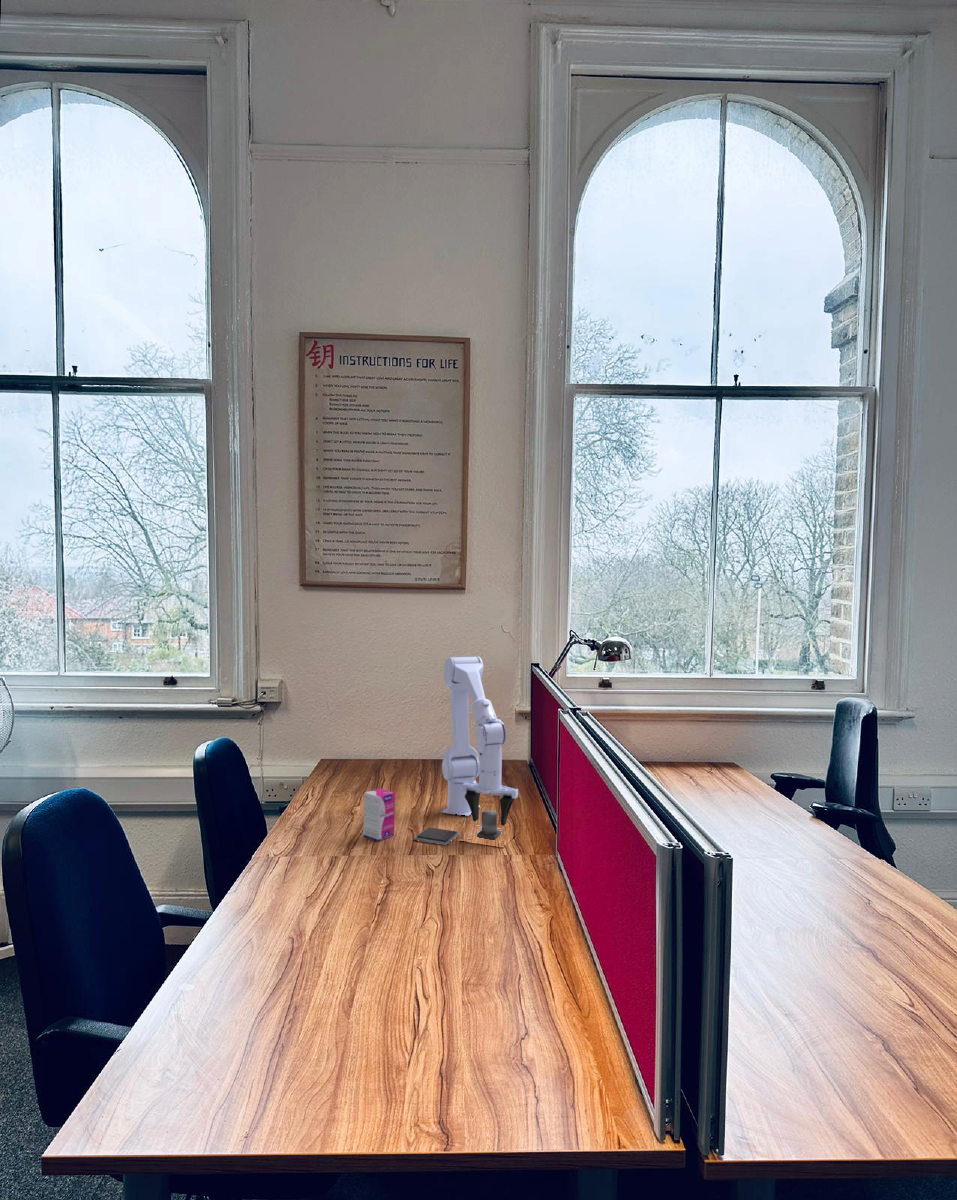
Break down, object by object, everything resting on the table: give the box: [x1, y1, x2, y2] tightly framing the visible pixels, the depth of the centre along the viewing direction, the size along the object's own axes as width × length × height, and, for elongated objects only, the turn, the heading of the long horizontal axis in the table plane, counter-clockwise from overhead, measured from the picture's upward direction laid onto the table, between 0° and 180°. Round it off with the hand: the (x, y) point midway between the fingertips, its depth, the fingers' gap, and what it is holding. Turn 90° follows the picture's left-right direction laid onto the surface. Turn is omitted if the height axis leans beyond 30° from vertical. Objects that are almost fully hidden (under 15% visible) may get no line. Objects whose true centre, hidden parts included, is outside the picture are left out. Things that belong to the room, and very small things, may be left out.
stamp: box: [477, 810, 502, 840], centre depth 191 cm, size 5×5×6 cm
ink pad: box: [413, 826, 460, 846], centre depth 191 cm, size 8×9×1 cm
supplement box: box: [362, 787, 396, 842], centre depth 191 cm, size 6×6×12 cm
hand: (489, 822), depth 192 cm, fingers open, 7 cm apart
